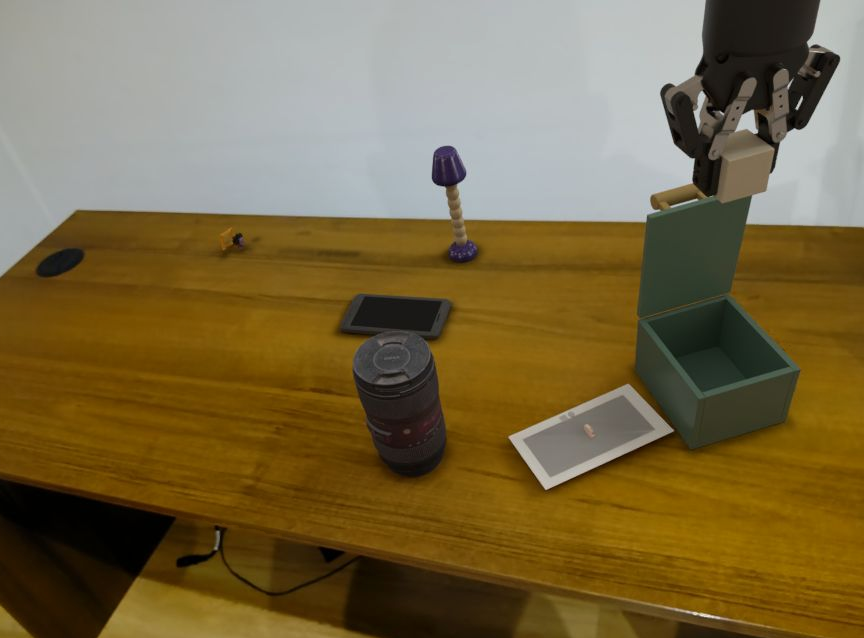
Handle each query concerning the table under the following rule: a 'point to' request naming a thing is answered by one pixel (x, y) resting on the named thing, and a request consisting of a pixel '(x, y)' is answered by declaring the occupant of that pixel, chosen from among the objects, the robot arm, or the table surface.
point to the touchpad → (589, 435)
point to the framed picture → (232, 239)
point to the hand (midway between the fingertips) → (731, 184)
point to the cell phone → (396, 315)
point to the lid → (689, 249)
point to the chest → (714, 370)
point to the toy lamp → (453, 199)
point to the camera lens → (401, 401)
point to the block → (744, 166)
